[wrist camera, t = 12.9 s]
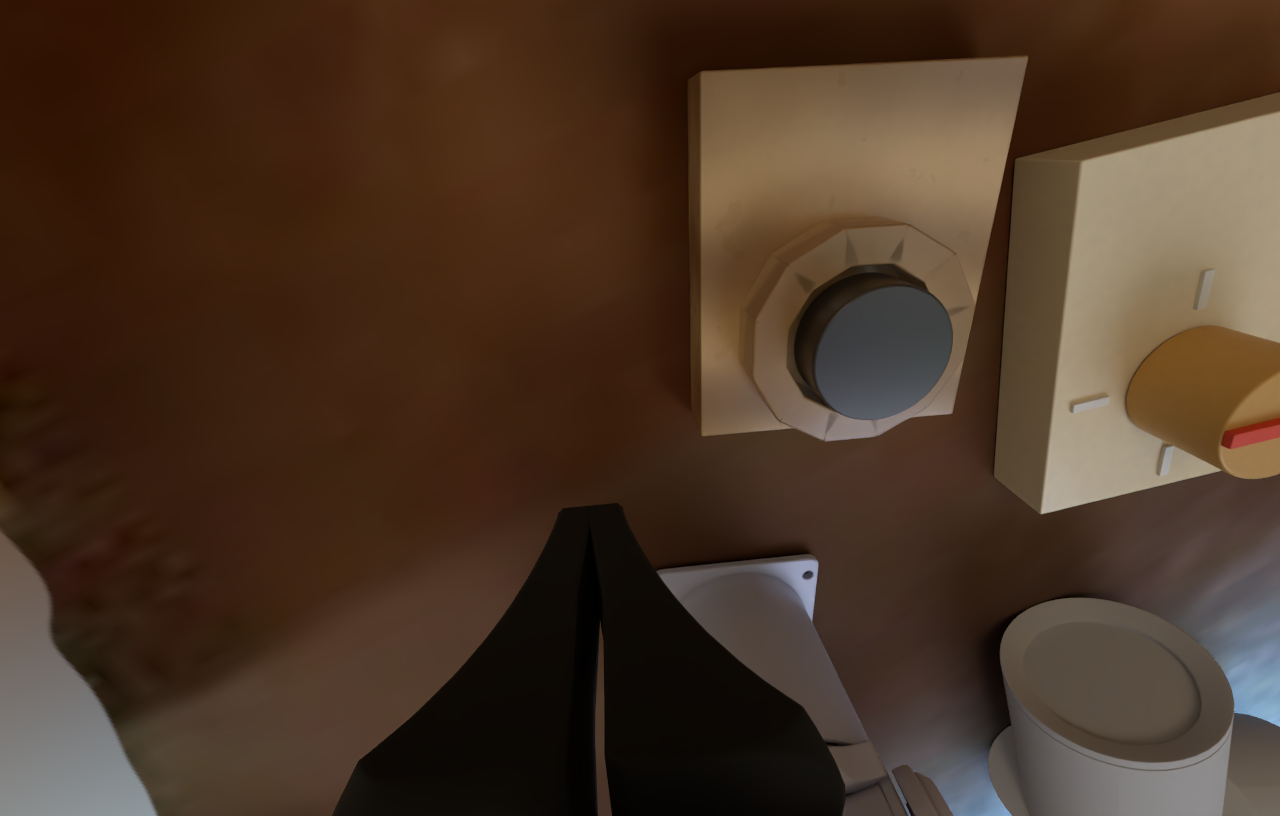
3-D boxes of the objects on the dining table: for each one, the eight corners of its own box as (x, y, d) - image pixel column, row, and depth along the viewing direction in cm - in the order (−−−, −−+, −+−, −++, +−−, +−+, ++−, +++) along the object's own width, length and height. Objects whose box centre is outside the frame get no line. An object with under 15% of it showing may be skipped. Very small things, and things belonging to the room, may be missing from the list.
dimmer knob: (1254, 311, 20) (1392, 345, 17) (1225, 417, 22) (1344, 466, 19) (1134, 341, 20) (1248, 381, 17) (1116, 443, 22) (1215, 498, 19)
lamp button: (911, 393, 19) (940, 415, 18) (788, 403, 19) (807, 427, 18) (933, 266, 18) (967, 278, 16) (798, 276, 17) (819, 289, 16)
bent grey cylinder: (894, 815, 35) (1165, 807, 38) (1026, 1033, 25) (1384, 1000, 28) (954, 558, 32) (1248, 569, 34) (1137, 689, 21) (1536, 690, 24)
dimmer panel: (1202, 425, 26) (1278, 460, 23) (992, 477, 26) (1043, 517, 23) (1287, 89, 20) (1406, 80, 17) (1013, 158, 20) (1085, 160, 17)
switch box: (921, 392, 24) (982, 436, 20) (691, 412, 23) (710, 461, 19) (982, 64, 19) (1078, 45, 15) (686, 79, 18) (712, 62, 14)
